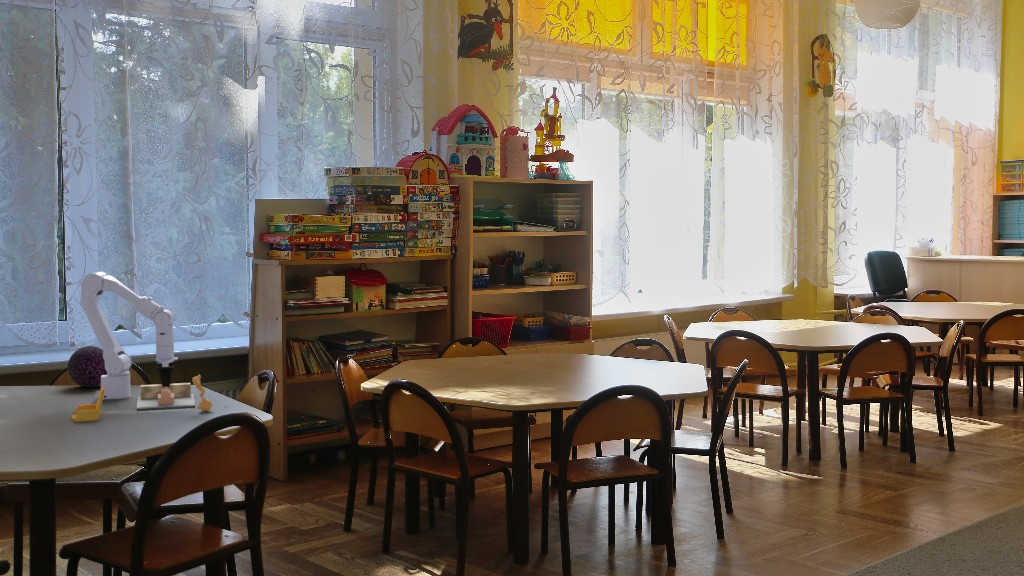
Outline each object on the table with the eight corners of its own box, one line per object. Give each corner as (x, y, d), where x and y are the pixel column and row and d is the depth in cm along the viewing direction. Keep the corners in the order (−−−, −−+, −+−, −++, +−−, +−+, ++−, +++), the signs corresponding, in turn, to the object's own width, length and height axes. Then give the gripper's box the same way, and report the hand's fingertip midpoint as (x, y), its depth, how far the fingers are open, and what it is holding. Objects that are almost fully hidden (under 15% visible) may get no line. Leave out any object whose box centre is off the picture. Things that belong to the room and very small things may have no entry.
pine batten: (140, 398, 343) (140, 386, 342) (141, 396, 345) (140, 385, 345) (190, 395, 348) (190, 384, 347) (190, 394, 351) (190, 382, 350)
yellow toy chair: (72, 416, 320) (71, 387, 319) (104, 414, 323) (104, 385, 323) (72, 422, 310) (71, 392, 309) (105, 420, 314) (105, 390, 313)
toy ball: (102, 390, 364) (101, 349, 363) (60, 390, 364) (59, 348, 363) (119, 383, 379) (118, 343, 378) (79, 383, 379) (78, 343, 378)
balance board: (136, 411, 327) (136, 394, 326) (138, 400, 346) (137, 384, 345) (195, 408, 333) (194, 391, 332) (193, 397, 351) (193, 381, 351)
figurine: (215, 413, 324) (214, 375, 324) (195, 414, 321) (195, 377, 321) (208, 408, 332) (207, 372, 331) (189, 410, 329) (188, 373, 328)
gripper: (177, 347, 340) (178, 387, 341) (177, 342, 353) (178, 381, 354) (155, 348, 337) (156, 389, 338) (155, 343, 351) (156, 382, 352)
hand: (166, 385), depth 346 cm, fingers open, 7 cm apart
